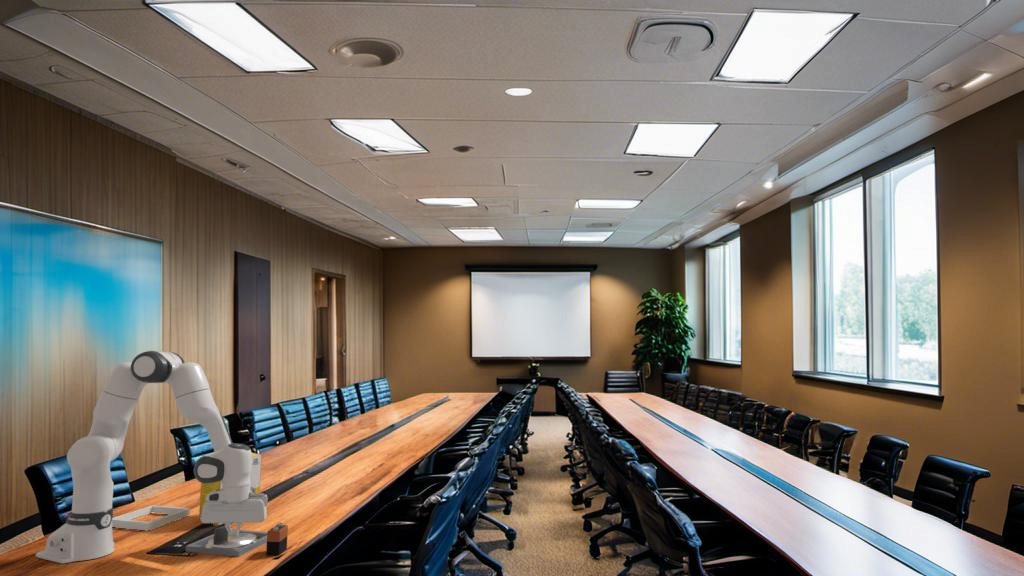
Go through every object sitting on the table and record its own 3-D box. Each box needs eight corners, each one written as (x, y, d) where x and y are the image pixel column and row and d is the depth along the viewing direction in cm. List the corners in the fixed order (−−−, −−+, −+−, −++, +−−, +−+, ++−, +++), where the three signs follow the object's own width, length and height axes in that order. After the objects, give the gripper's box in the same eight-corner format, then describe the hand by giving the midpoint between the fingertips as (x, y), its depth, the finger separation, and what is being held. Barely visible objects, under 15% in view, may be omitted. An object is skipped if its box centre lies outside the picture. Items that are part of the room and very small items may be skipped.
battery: (287, 553, 203) (288, 522, 204) (278, 560, 196) (280, 528, 197) (274, 552, 203) (275, 521, 204) (265, 559, 196) (266, 527, 197)
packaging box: (238, 510, 253) (242, 449, 256) (258, 518, 243) (261, 454, 246) (198, 518, 241) (202, 454, 243) (217, 526, 231) (221, 459, 233)
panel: (185, 555, 199) (186, 542, 199) (226, 537, 218) (226, 525, 219) (238, 560, 195) (239, 548, 195) (275, 541, 214) (276, 530, 215)
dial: (236, 535, 217) (237, 515, 217) (265, 541, 210) (266, 522, 210) (197, 546, 204) (199, 526, 204) (227, 554, 197) (228, 533, 197)
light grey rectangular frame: (107, 527, 228) (108, 519, 228) (151, 512, 248) (152, 505, 248) (147, 531, 224) (148, 522, 224) (189, 516, 244) (189, 508, 245)
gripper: (270, 490, 208) (268, 532, 206) (207, 491, 205) (204, 533, 203) (265, 495, 202) (263, 538, 200) (200, 496, 199) (197, 539, 197)
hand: (233, 536), depth 202 cm, fingers closed
